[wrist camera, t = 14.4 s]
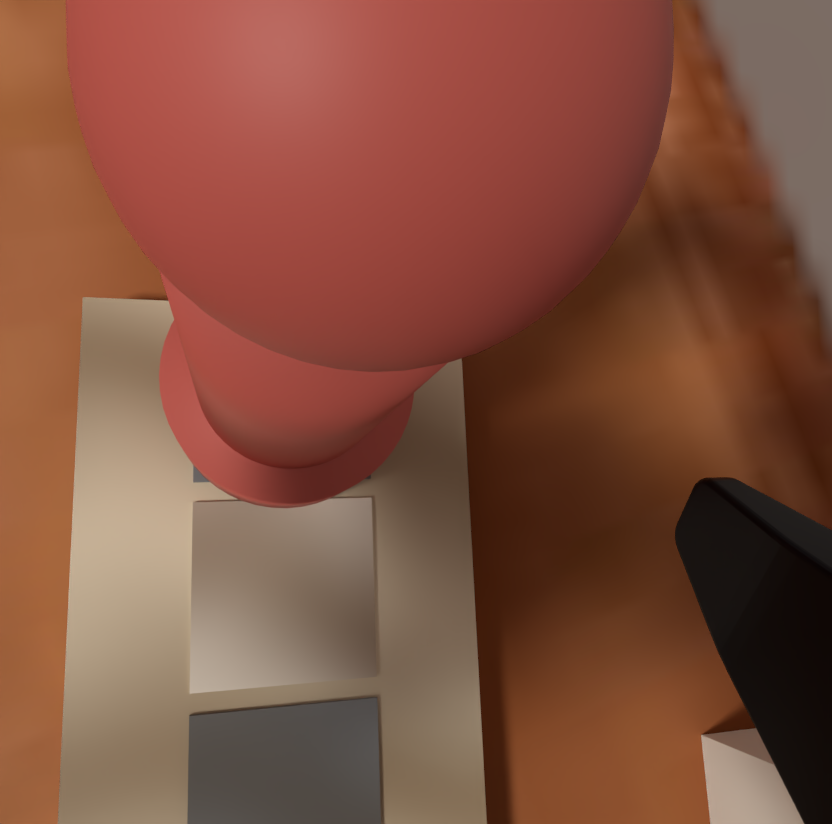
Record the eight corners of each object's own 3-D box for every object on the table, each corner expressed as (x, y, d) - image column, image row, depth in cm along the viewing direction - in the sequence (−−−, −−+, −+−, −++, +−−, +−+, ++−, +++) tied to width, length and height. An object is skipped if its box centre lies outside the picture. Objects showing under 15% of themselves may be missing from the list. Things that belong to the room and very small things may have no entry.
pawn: (396, 504, 15) (984, 353, 3) (167, 511, 14) (-279, 315, 2) (389, 298, 16) (830, -440, 4) (173, 289, 14) (-118, -787, 3)
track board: (497, 1320, 13) (519, 1386, 12) (41, 1472, 11) (20, 1566, 10) (447, 325, 17) (460, 311, 16) (92, 313, 15) (81, 295, 14)
